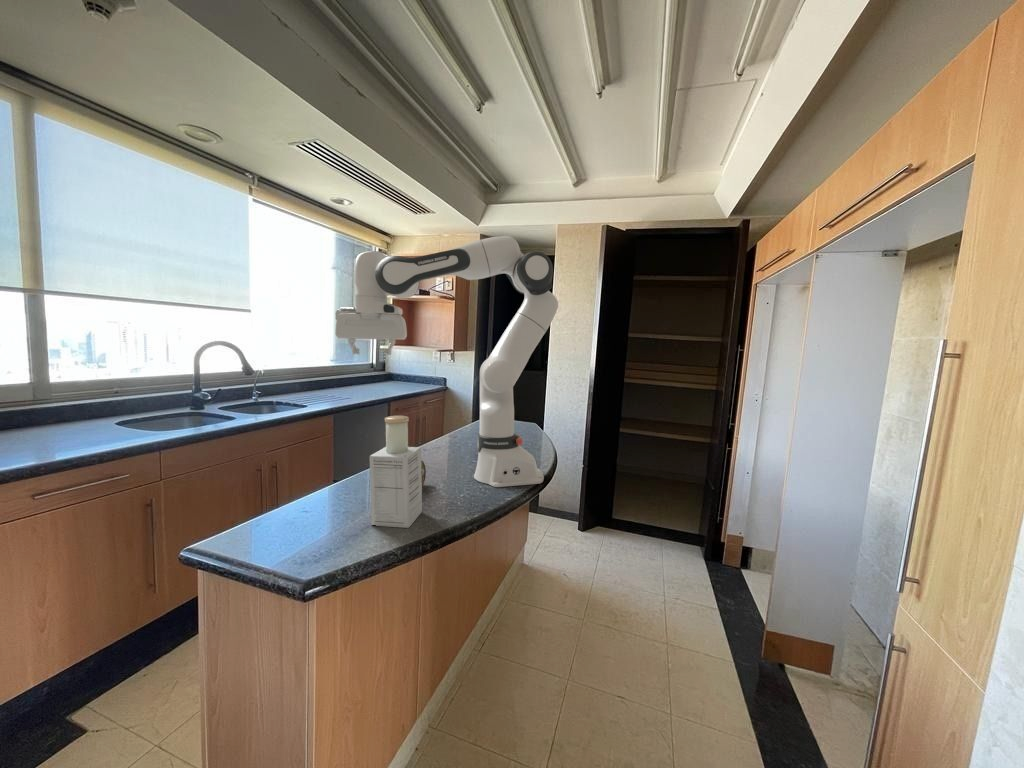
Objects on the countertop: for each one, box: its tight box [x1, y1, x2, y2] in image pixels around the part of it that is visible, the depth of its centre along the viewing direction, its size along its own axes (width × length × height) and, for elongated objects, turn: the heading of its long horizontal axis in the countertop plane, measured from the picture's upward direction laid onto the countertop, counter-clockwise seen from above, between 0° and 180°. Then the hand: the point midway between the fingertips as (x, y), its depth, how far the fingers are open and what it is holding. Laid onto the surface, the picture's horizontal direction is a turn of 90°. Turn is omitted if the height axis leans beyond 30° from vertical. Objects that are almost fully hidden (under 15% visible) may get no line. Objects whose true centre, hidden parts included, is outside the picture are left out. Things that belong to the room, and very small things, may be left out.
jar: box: [384, 415, 410, 454], centre depth 90 cm, size 5×5×8 cm
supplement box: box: [369, 446, 423, 529], centre depth 91 cm, size 10×9×17 cm
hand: (372, 354), depth 114 cm, fingers open, 8 cm apart
